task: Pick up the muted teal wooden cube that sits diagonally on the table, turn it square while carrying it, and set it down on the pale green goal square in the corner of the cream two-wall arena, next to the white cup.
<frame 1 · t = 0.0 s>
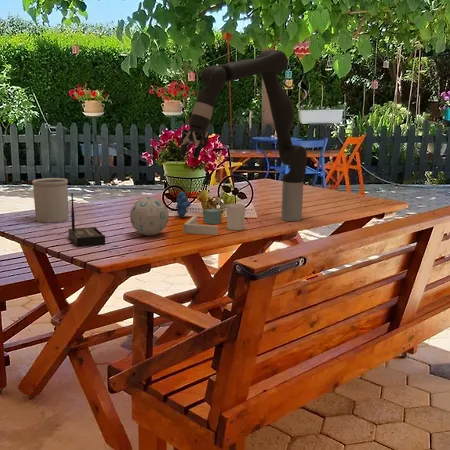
hand: (188, 156, 237), 31 cm above the table, tool tilted 20°, fingers open, 8 cm apart
grapes: (183, 217, 280), on the table
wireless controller: (85, 241, 236), on the table
arena: (204, 229, 256), on the table
white cup: (235, 229, 259), on the table
utensil holder: (52, 220, 271), on the table
teal block: (212, 222, 270), on the table
puzzle ball: (149, 235, 246), on the table
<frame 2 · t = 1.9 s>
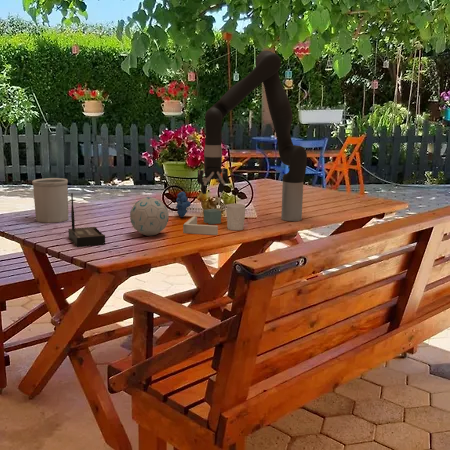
hand: (212, 193, 267), 13 cm above the table, tool pointing down, fingers open, 8 cm apart
nothing on the table moved.
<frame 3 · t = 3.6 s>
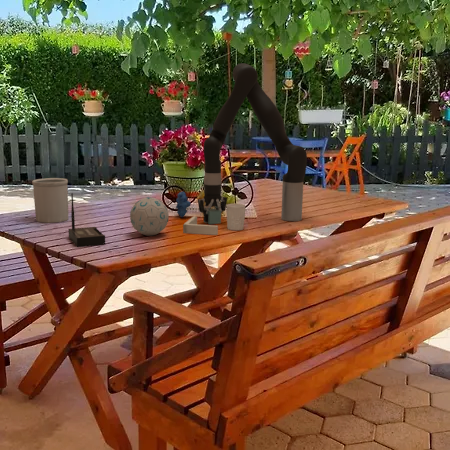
hand: (212, 221, 270), 1 cm above the table, tool pointing down, fingers closed on teal block, 5 cm apart
teal block: (212, 222, 270), on the table, touching gripper
everything else where it was.
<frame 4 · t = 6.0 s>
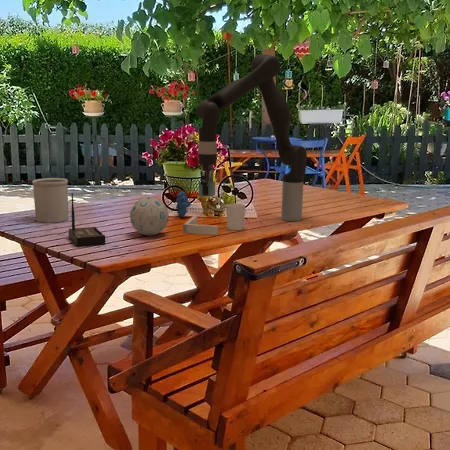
hand: (207, 193, 252), 15 cm above the table, tool pointing down, fingers closed on teal block, 5 cm apart
teal block: (206, 195, 252), point 15 cm above the table, touching gripper
everything else where it was.
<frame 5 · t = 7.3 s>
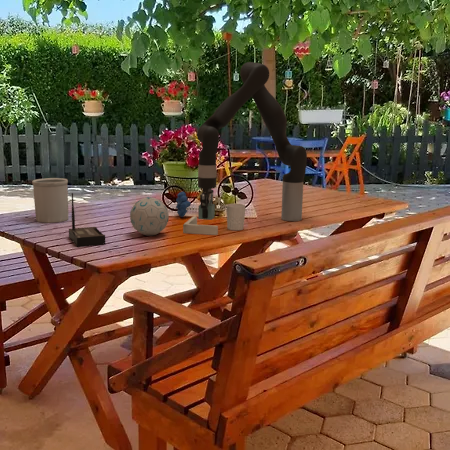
hand: (206, 216, 254), 6 cm above the table, tool pointing down, fingers closed on teal block, 5 cm apart
teal block: (206, 218, 254), point 5 cm above the table, touching gripper
everything else where it was.
when the fingers open (2 cm above the table, at t = 8.4 s): teal block stays where it is, resting on arena.
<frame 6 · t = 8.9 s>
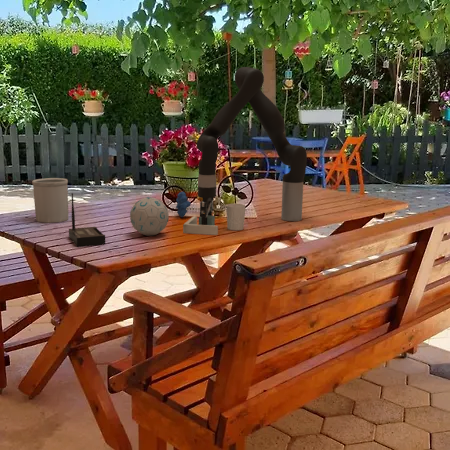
hand: (206, 224, 255), 2 cm above the table, tool pointing down, fingers open, 8 cm apart
teal block: (206, 229, 255), resting on arena
everything else where it was.
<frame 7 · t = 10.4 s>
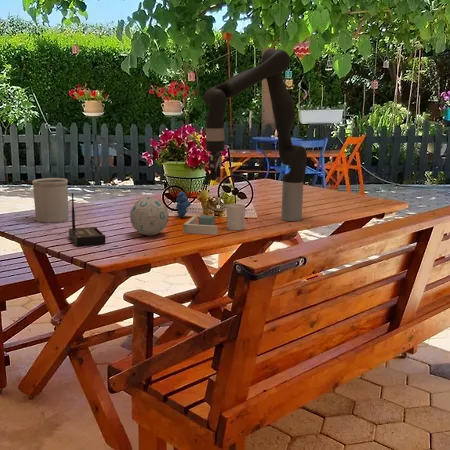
hand: (215, 178, 255), 21 cm above the table, tool pointing down, fingers open, 8 cm apart
nothing on the table moved.
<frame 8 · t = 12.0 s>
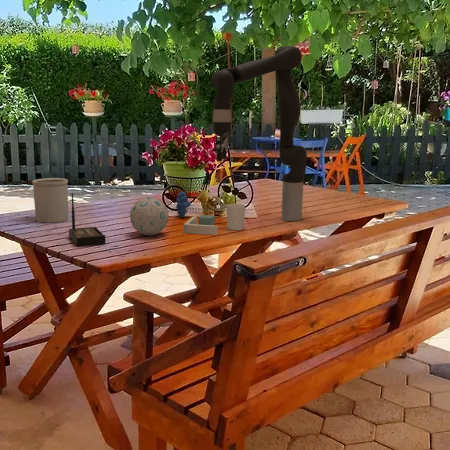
hand: (221, 160, 257), 28 cm above the table, tool pointing down, fingers open, 8 cm apart
nothing on the table moved.
at the end: teal block 0.0 cm from the target spot, resting on arena; teal block tilted 0°; the gripper is holding nothing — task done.
